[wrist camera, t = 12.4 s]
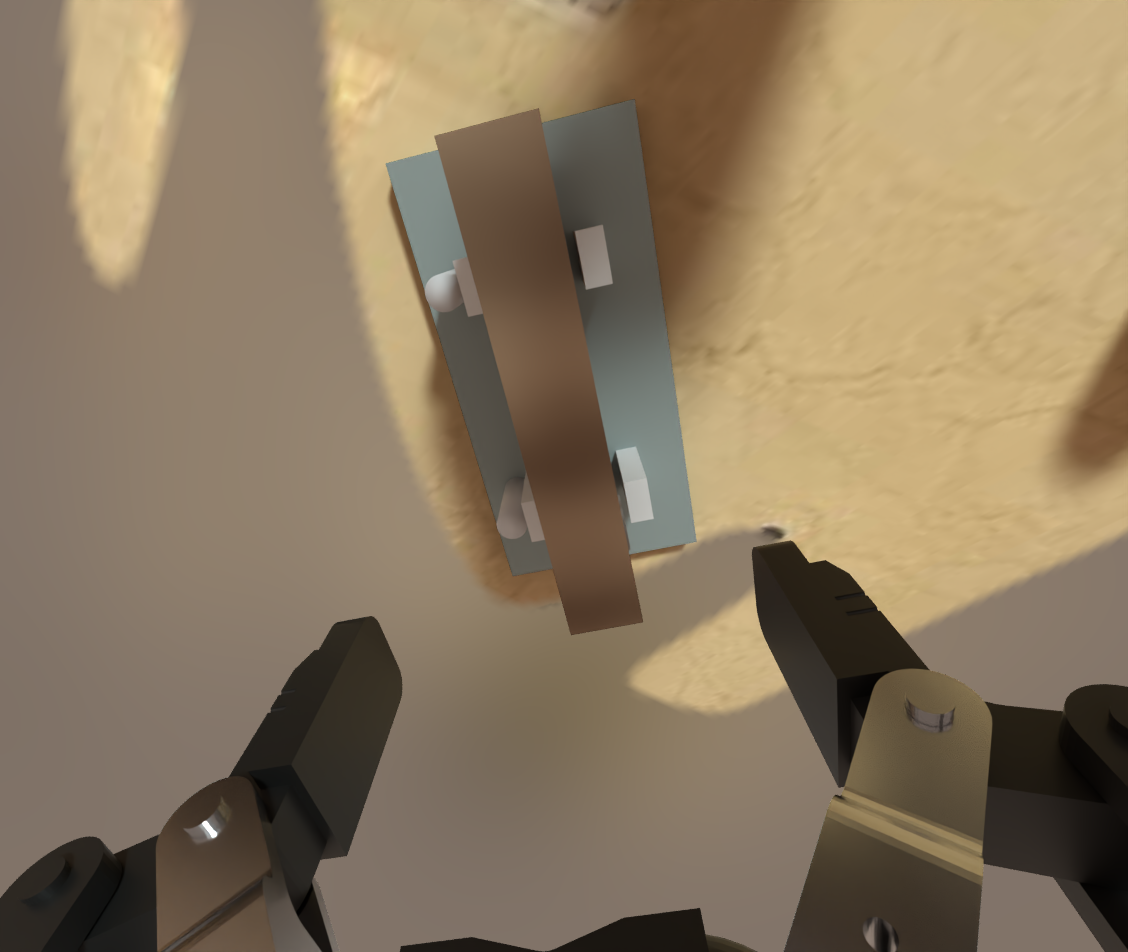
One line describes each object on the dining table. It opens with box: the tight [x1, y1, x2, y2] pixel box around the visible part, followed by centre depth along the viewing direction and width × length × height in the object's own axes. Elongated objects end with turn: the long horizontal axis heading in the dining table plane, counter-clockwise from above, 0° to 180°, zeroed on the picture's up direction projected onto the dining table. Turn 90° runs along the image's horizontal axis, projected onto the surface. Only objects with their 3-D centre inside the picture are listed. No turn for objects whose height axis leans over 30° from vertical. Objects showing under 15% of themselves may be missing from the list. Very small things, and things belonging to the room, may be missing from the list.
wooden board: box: [434, 108, 643, 635], centre depth 24 cm, size 18×3×12 cm, turn 13°
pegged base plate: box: [386, 99, 697, 576], centre depth 29 cm, size 24×12×6 cm, turn 12°
